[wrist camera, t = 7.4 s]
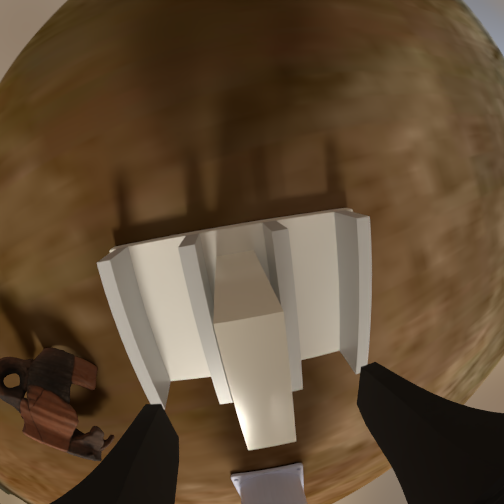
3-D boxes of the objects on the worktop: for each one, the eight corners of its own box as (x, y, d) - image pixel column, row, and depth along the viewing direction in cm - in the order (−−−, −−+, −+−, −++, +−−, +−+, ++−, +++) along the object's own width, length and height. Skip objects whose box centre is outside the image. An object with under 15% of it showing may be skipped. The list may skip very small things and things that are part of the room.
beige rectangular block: (268, 350, 18) (296, 441, 10) (236, 356, 18) (248, 450, 10) (253, 250, 16) (283, 311, 8) (216, 256, 16) (213, 323, 8)
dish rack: (350, 339, 20) (373, 368, 16) (156, 374, 19) (146, 409, 15) (346, 207, 17) (377, 215, 13) (115, 246, 16) (88, 264, 12)
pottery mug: (134, 374, 19) (122, 469, 13) (107, 390, 24) (98, 459, 18) (1, 310, 14) (-30, 407, 8) (10, 345, 19) (-9, 415, 13)
